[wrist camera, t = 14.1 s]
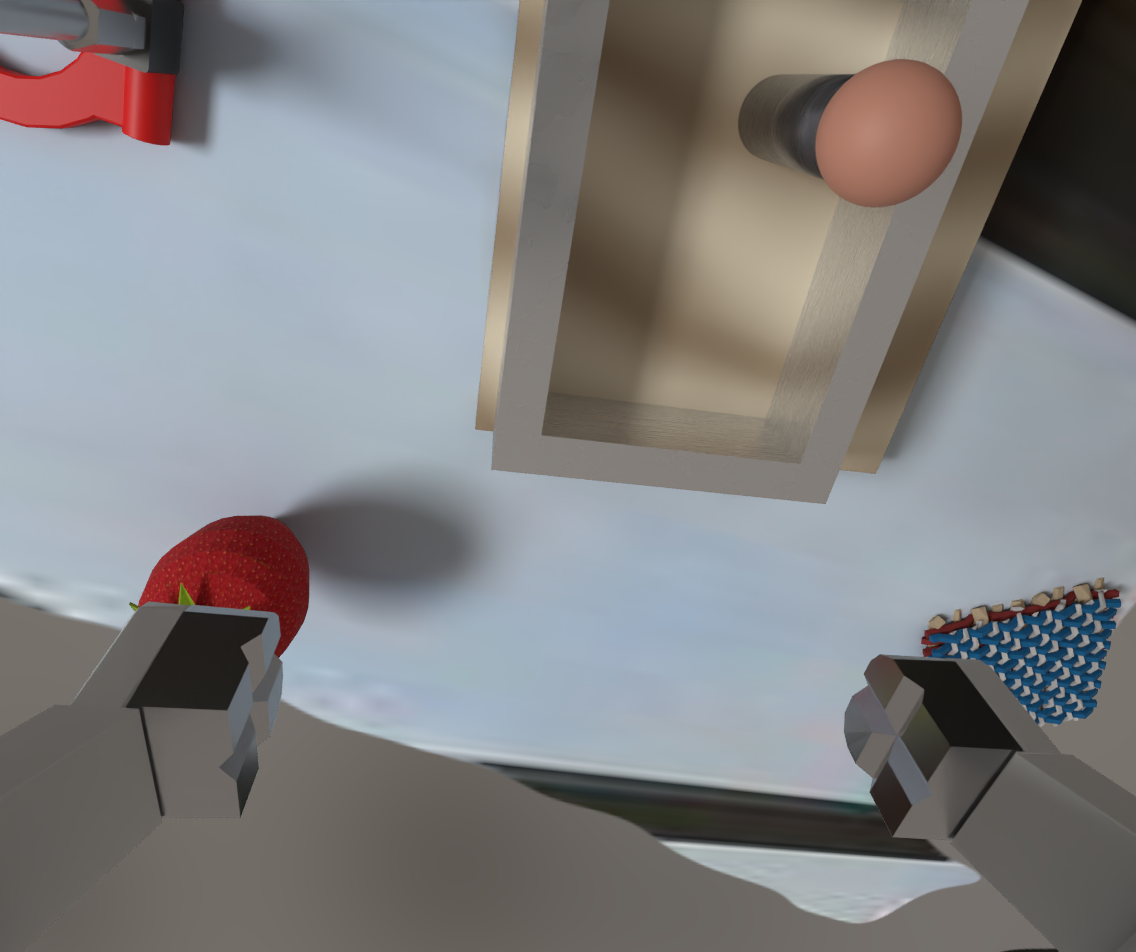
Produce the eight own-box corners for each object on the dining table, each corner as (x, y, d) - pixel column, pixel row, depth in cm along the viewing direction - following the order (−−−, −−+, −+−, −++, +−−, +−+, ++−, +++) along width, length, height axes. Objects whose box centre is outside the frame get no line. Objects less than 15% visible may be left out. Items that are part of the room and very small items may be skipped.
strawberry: (172, 554, 32) (50, 728, 24) (240, 435, 30) (128, 583, 21) (291, 607, 34) (218, 784, 26) (364, 500, 32) (310, 659, 23)
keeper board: (575, -526, 17) (656, -1278, 8) (1192, -333, 20) (1831, -716, 10) (476, 413, 30) (461, 573, 20) (861, 457, 32) (1008, 618, 23)
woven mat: (1080, 695, 43) (1104, 722, 41) (910, 731, 44) (926, 759, 42) (1108, 567, 38) (1137, 591, 36) (914, 610, 38) (933, 635, 37)
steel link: (560, -144, 20) (570, -190, 16) (971, -49, 22) (1058, -72, 18) (493, 421, 28) (491, 469, 25) (789, 455, 30) (825, 504, 27)
